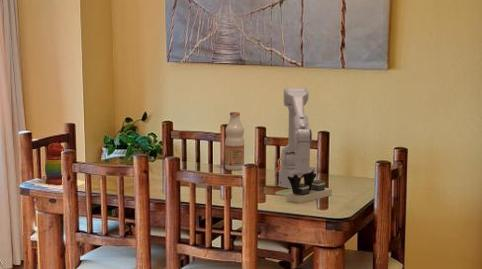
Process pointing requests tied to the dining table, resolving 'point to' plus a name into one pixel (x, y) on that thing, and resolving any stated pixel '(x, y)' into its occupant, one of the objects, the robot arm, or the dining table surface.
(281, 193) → the tray
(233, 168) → the fruit juice
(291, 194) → the strip
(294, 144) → the robot arm
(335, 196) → the dining table surface
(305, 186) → the plug
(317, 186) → the twin plug
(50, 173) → the stacking bear
